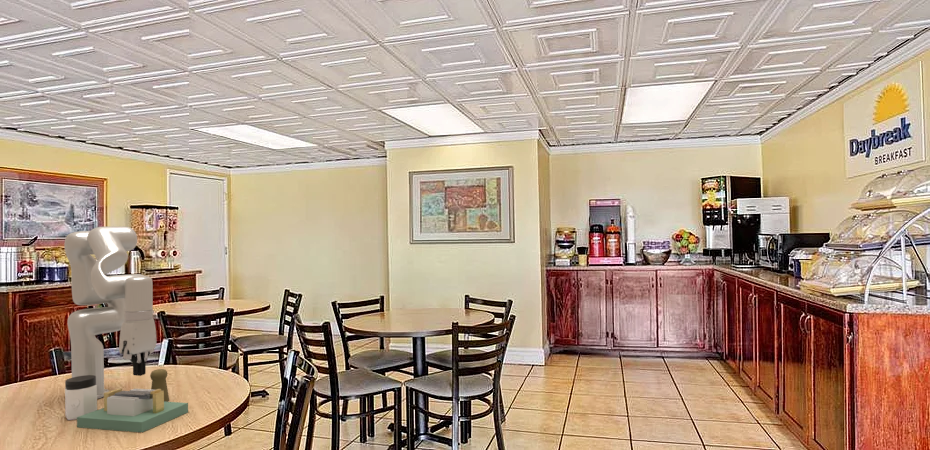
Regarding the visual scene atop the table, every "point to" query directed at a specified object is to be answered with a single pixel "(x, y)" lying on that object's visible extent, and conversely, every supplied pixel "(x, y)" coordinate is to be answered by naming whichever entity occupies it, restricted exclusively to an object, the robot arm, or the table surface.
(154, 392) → the lug
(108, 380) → the table surface
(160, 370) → the cork
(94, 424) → the board
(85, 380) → the jar
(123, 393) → the strap
